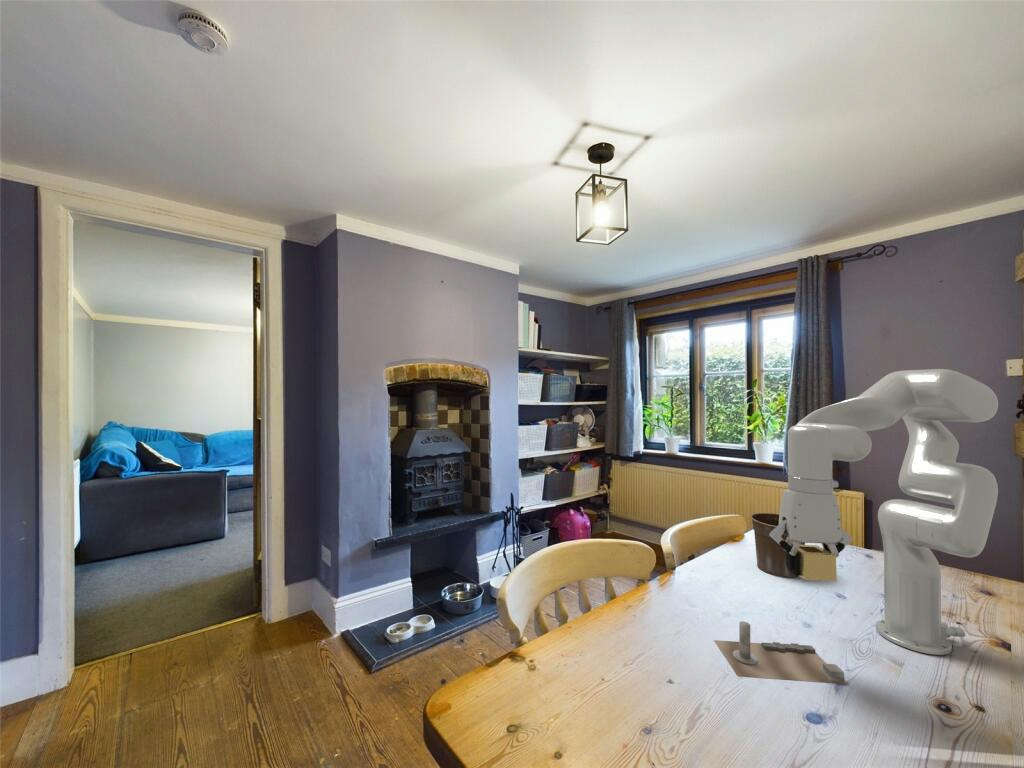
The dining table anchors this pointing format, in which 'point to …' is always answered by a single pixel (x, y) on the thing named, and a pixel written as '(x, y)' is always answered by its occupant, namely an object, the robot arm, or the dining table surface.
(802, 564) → the end link
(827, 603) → the dining table surface
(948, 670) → the dining table surface
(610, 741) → the dining table surface
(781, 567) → the plant pot
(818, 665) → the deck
